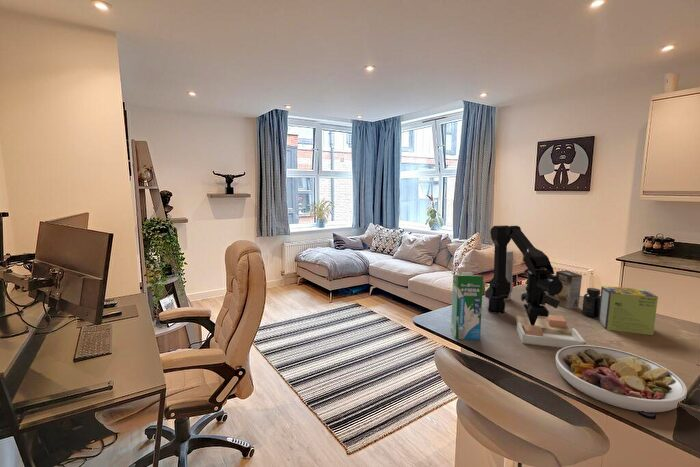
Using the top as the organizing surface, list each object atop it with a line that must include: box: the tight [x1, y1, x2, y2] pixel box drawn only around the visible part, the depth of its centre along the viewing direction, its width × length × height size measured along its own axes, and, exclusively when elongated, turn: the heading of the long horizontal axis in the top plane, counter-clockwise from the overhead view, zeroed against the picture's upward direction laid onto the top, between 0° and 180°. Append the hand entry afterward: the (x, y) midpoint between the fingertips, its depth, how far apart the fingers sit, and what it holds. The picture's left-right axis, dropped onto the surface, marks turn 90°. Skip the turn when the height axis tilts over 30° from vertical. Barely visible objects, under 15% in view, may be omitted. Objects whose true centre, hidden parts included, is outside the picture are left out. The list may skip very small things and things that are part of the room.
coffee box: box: [554, 269, 583, 310], centre depth 163 cm, size 9×6×16 cm
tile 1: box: [523, 324, 544, 336], centre depth 132 cm, size 6×6×2 cm
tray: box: [516, 322, 587, 349], centre depth 128 cm, size 20×12×3 cm, turn 73°
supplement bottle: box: [581, 287, 601, 319], centre depth 151 cm, size 7×7×12 cm
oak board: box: [515, 315, 572, 335], centre depth 139 cm, size 18×10×2 cm, turn 73°
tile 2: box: [544, 314, 568, 328], centre depth 138 cm, size 6×6×2 cm
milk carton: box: [450, 271, 484, 341], centre depth 132 cm, size 9×9×25 cm
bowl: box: [555, 344, 688, 413], centre depth 100 cm, size 30×30×8 cm
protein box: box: [597, 285, 659, 336], centre depth 138 cm, size 10×15×16 cm
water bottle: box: [504, 249, 516, 302], centre depth 171 cm, size 9×8×25 cm
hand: (532, 325), depth 133 cm, fingers closed
